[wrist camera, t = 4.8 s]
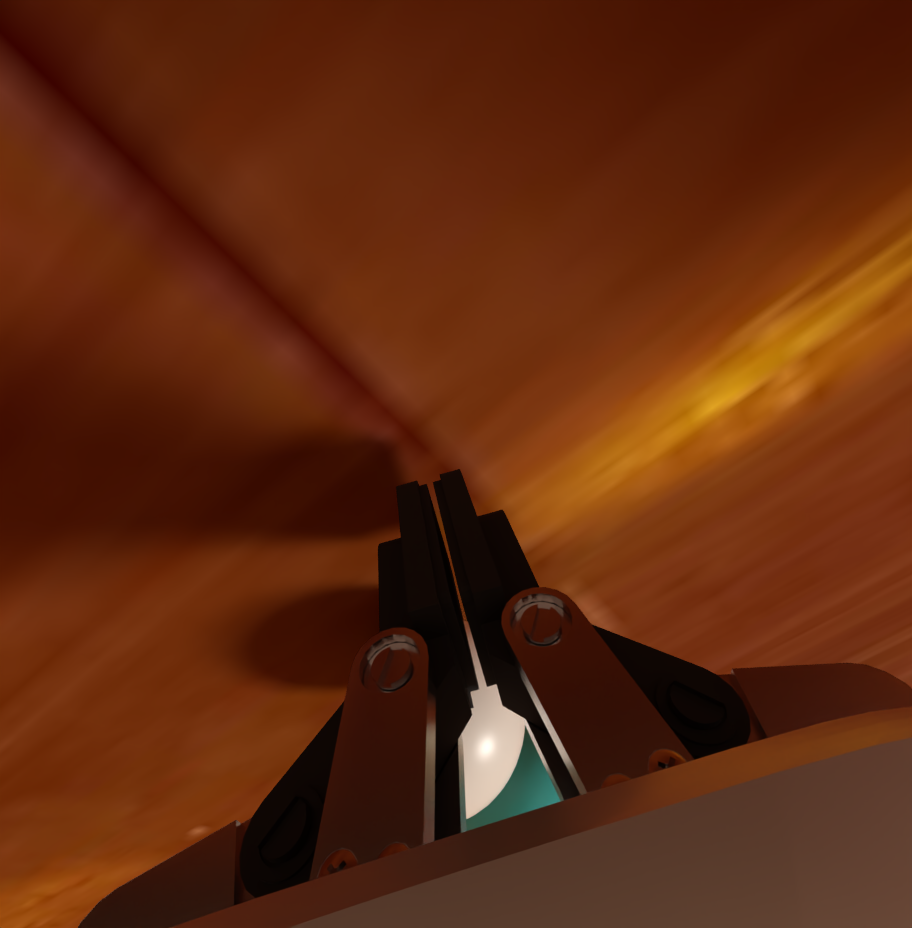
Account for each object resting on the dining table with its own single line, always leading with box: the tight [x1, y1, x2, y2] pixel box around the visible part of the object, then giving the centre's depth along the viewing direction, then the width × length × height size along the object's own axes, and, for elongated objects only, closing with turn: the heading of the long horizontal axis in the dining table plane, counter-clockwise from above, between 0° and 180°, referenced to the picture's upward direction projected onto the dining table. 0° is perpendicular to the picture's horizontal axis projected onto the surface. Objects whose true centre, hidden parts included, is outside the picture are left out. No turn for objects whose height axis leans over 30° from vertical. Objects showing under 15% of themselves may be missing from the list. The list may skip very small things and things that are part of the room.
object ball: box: [466, 726, 560, 831], centre depth 17 cm, size 6×6×6 cm
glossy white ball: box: [462, 620, 525, 819], centre depth 13 cm, size 6×6×6 cm
